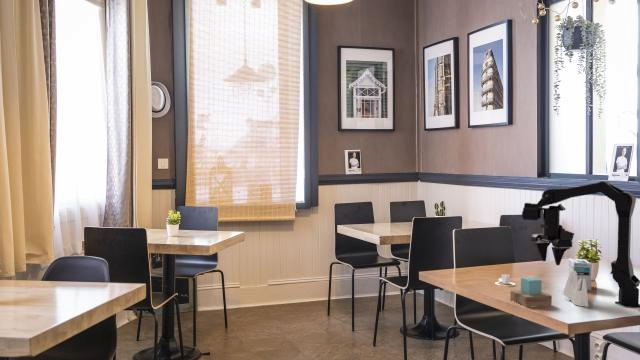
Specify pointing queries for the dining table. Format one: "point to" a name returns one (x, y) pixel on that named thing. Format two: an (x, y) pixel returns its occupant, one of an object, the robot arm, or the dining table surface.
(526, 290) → the teal cube
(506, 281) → the teacup and saucer
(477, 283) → the dining table surface
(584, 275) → the light bulb box
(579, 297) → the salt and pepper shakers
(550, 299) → the walnut block
